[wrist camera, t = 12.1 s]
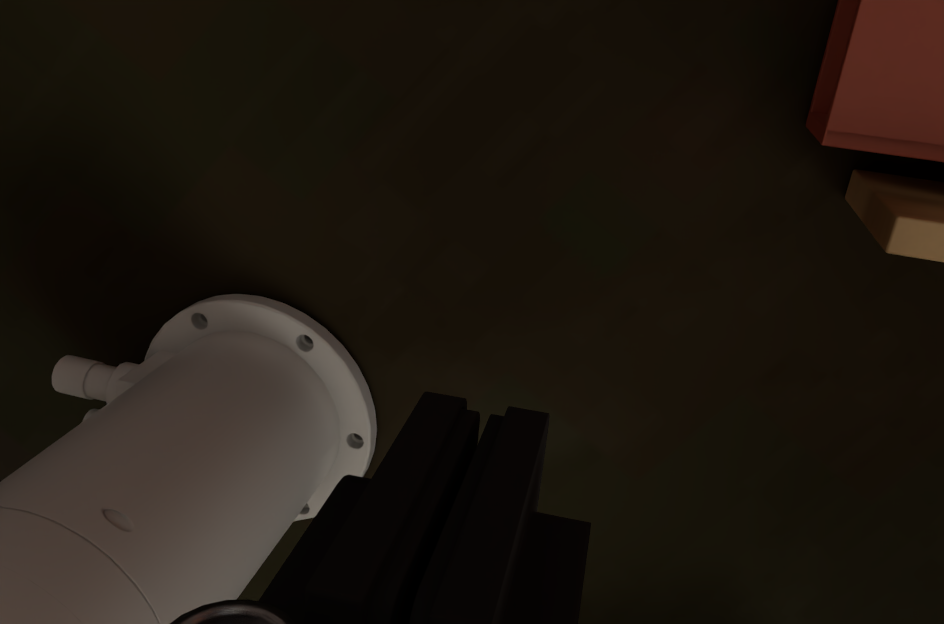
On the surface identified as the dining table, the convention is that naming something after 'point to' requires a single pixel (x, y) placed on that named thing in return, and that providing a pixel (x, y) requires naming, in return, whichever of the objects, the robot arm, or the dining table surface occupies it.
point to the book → (883, 79)
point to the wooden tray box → (900, 212)
